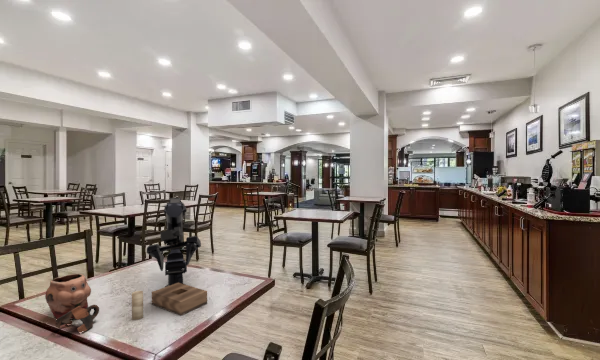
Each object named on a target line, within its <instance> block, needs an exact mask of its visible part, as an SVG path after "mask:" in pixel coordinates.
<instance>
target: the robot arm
mask: <svg viewBox="0 0 600 360" xmlns="http://www.w3.org/2000/svg"><path fill="white" fill-rule="evenodd" d="M181 200H182V199H181V198H180V197H171V198H169V201H168V202H166V205H164V209H163V210H164V211H163V213H164V214H163V215H165V216H166V230H164V231H162V232H161V231H160V232H159V233H160V241H161V242H163V243H164V245H162V246H161V245H160V244H159V243H156V244H151V245H148V246H147V248H146V253H147V254H148V255H149V256H151V258H155V260H156V261H157V264H158V267H159V269H160V272H163V271H164V275H165V276H166V277H167V284H166V285H165V286H164V287H167V286H170V285H173V284H176V283H181V284H185V285H187V283H184V276H183V275H184V274H186V273H187V272H188V269H187V267H188V266H189V264H190V261H191V260H192V257H193V255H194V254H195V252H196V251H197V250H199V249H198V248H201V247H202V243H201V239H200V238H199V237H198V236H197V235H192V236H187V237H186V240H184V241H183V237H184V233H183V220H184V216H185V213H187V207H186V206H185V204H184V202H182V201H181ZM165 244H166V245H165ZM184 247H185V248H186V249H185V251H186V253H185V258H184V253H183V252H182V251H181V248H184ZM165 251H166V252H167V251H169V253H168V254H167V256H166V261H165V259H164V258H165V256H164V255H163V254H164V252H165ZM164 261H165V262H164Z"/></svg>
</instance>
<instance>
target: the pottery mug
mask: <svg viewBox="0 0 600 360" xmlns="http://www.w3.org/2000/svg"><path fill="white" fill-rule="evenodd" d="M92 310H93V313H92V314H91V311H92ZM99 313H100V307H99V306H98V304H92V305H88V307H87V308H81V306H78V307H76V308H75V309H73V310H71V311H70V312H68V313H66V314H65V315H63V316H61V317H60V318H58V319H57V320H56V319H54V322H55V323H56V324H55V328H56V329H60V328H61V326H64V325H65V326H67V324H71V325H72V324H73V323H74V321H73V319H71V317H72V316H74V317H75V318H74V319H75V320H78V321H80V322H82V324H81V325H80V326H79V327H77V329H76V330H77V332H78V333H79V332H82V331H85V332H87V331H88V330H89V329H91V328H92V327H94V323H93V322H94V319H95V318H96V317H97V316H98V314H99Z"/></svg>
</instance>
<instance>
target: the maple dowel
mask: <svg viewBox="0 0 600 360" xmlns="http://www.w3.org/2000/svg"><path fill="white" fill-rule="evenodd" d="M143 318H144V291H143V290H136V291H132V292H131V320H132V321H138V320H141V319H143Z"/></svg>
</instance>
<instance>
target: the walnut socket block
mask: <svg viewBox="0 0 600 360" xmlns="http://www.w3.org/2000/svg"><path fill="white" fill-rule="evenodd" d="M185 284H186V283H183V284H181V283H176V284H173V285H170V286H167V287H165V286H164V287H162V288H159V289H156V290H154V291H153V290H152V291H151V305H152V306H155V307H157V308H160V309H162V310H164V311H167V312H169V313H170V312H171V313H173V314H176V315H178V316H183V315H186V314H188V313H190V312H192V311H194V310H196V309H199V308H201V307H203V306H205V305H207V304H208V290H205V289H202V288H198V287H195V286H191V285H188V284H186V285H185Z"/></svg>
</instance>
